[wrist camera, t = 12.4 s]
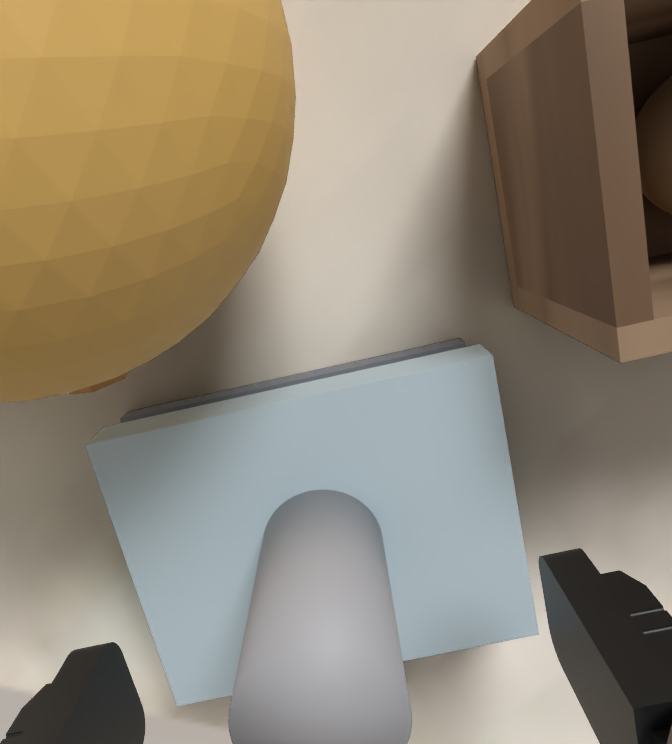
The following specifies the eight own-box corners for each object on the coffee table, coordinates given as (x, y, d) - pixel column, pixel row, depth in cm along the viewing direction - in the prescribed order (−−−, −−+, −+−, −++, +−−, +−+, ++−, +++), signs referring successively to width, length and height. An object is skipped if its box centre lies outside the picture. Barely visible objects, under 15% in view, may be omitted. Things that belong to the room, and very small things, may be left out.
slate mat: (459, 338, 16) (464, 342, 16) (501, 569, 18) (506, 581, 17) (127, 411, 17) (120, 419, 16) (199, 631, 18) (195, 645, 18)
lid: (470, 335, 15) (592, 444, 8) (512, 581, 17) (643, 844, 10) (117, 413, 16) (-56, 581, 9) (195, 646, 18) (104, 943, 11)
